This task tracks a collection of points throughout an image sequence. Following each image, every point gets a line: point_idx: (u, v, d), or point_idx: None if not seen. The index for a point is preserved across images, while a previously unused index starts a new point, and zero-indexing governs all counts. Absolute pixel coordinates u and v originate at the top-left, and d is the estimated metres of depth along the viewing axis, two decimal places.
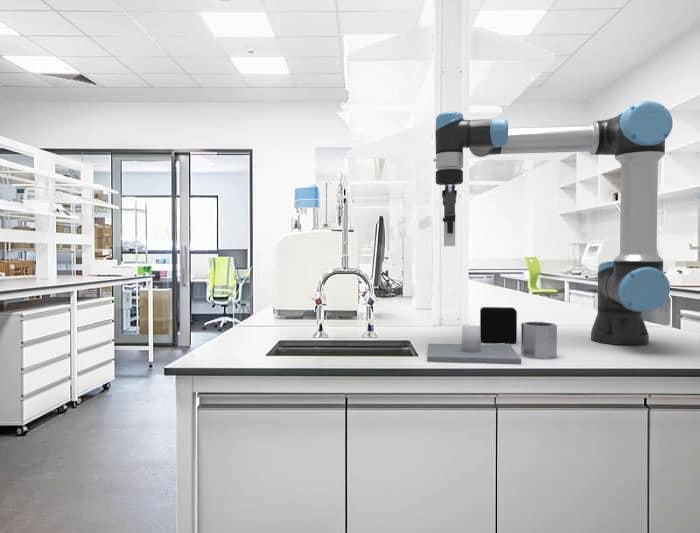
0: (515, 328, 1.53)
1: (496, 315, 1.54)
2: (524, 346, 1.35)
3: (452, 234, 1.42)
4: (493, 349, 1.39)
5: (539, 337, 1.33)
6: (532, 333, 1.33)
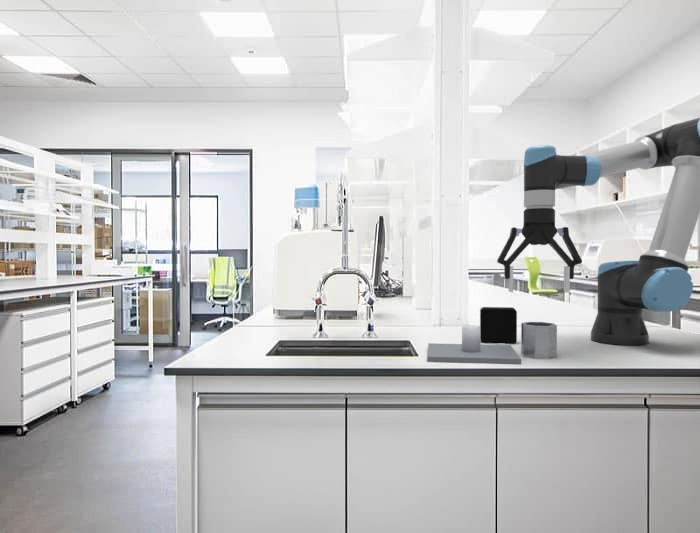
0: (515, 328, 1.53)
1: (496, 315, 1.54)
2: (524, 346, 1.35)
3: (509, 279, 1.37)
4: (493, 349, 1.39)
5: (539, 337, 1.33)
6: (532, 333, 1.33)
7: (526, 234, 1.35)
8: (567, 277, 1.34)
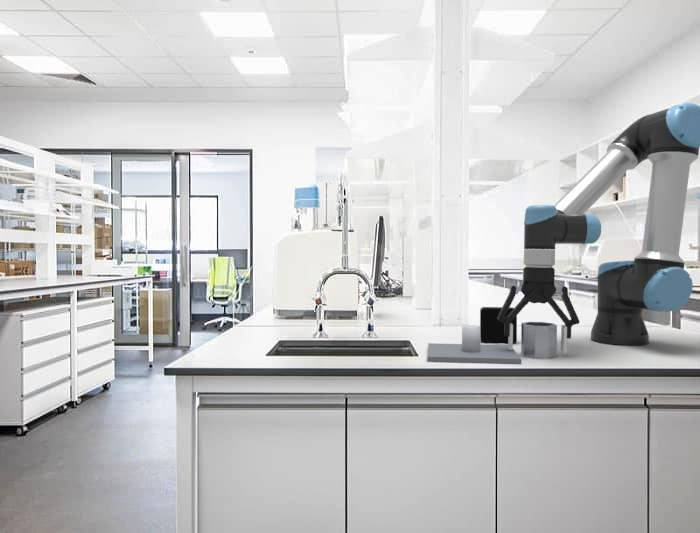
0: (515, 328, 1.53)
1: (496, 315, 1.54)
2: (524, 346, 1.35)
3: (509, 337, 1.37)
4: (493, 349, 1.39)
5: (539, 337, 1.33)
6: (532, 333, 1.33)
7: (525, 292, 1.36)
8: (564, 337, 1.34)
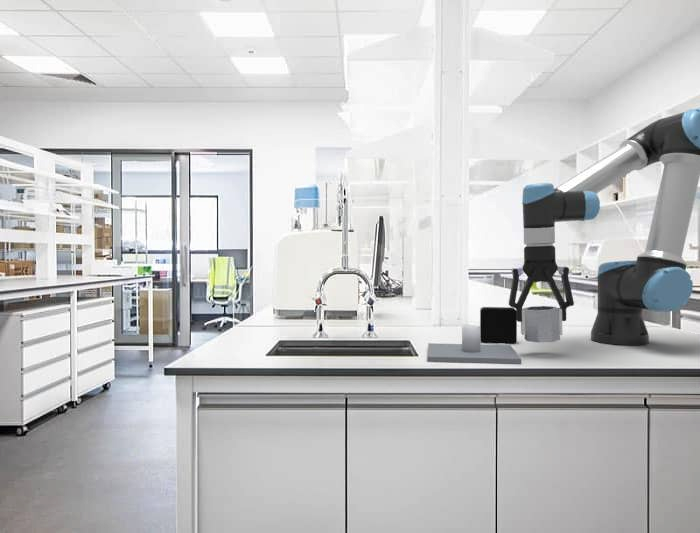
0: (515, 328, 1.53)
1: (496, 315, 1.54)
2: (527, 331, 1.36)
3: (521, 322, 1.37)
4: (493, 349, 1.39)
5: (541, 321, 1.33)
6: (534, 318, 1.33)
7: (528, 272, 1.35)
8: (560, 319, 1.35)
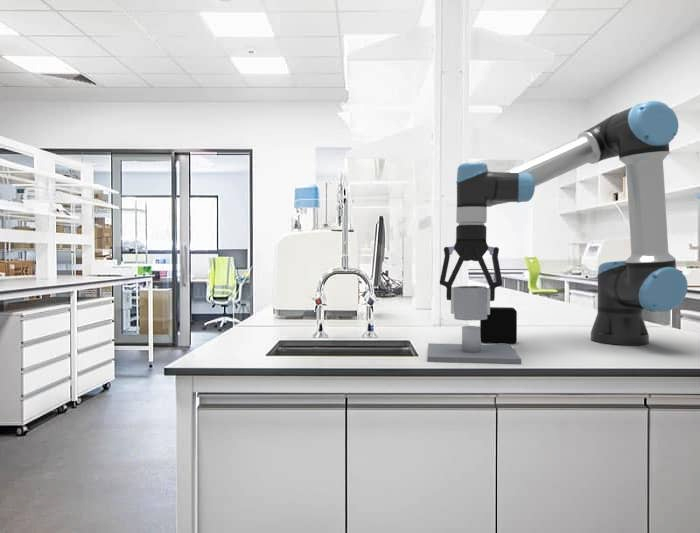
0: (515, 328, 1.53)
1: (496, 315, 1.54)
2: (455, 309, 1.36)
3: (451, 301, 1.37)
4: (493, 349, 1.39)
5: (468, 299, 1.33)
6: (462, 295, 1.34)
7: (459, 250, 1.36)
8: (488, 299, 1.35)
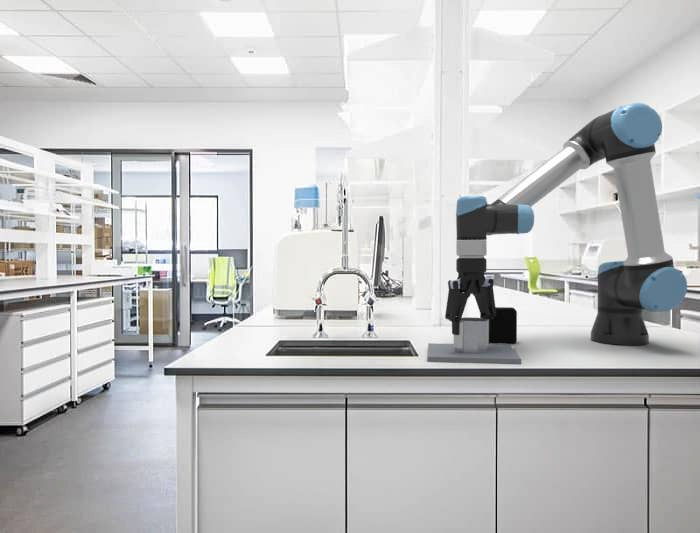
0: (515, 328, 1.53)
1: (496, 315, 1.54)
2: (465, 343, 1.34)
3: (459, 335, 1.34)
4: (493, 349, 1.39)
5: (480, 332, 1.34)
6: (475, 329, 1.33)
7: (465, 283, 1.34)
8: (487, 330, 1.38)
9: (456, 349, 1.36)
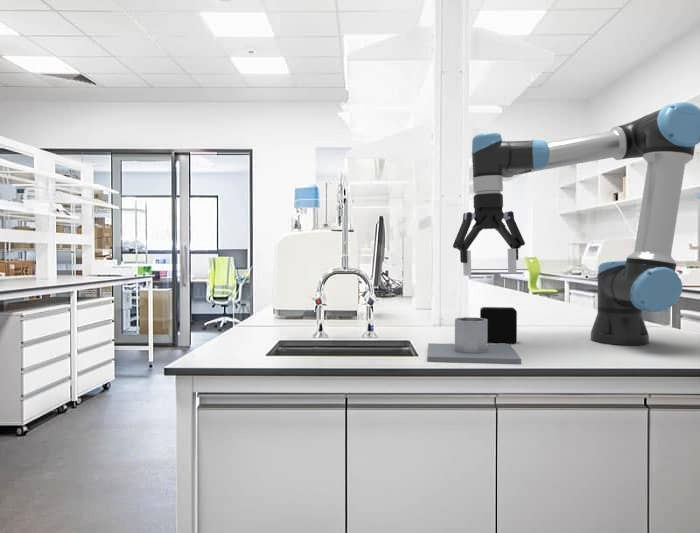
0: (515, 328, 1.53)
1: (496, 315, 1.54)
2: (465, 343, 1.34)
3: (467, 263, 1.39)
4: (493, 349, 1.39)
5: (480, 332, 1.34)
6: (475, 329, 1.33)
7: (480, 218, 1.39)
8: (514, 258, 1.42)
9: (456, 349, 1.36)
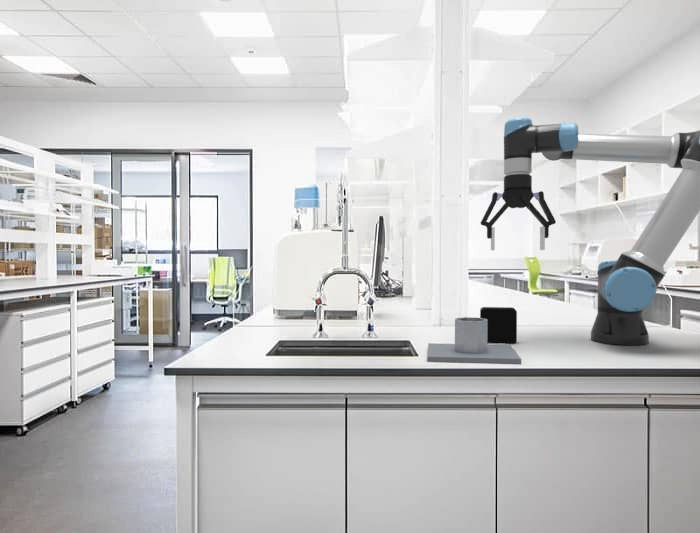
0: (515, 328, 1.53)
1: (496, 315, 1.54)
2: (465, 343, 1.34)
3: (491, 239, 1.52)
4: (493, 349, 1.39)
5: (480, 332, 1.34)
6: (475, 329, 1.33)
7: (506, 198, 1.51)
8: (542, 236, 1.50)
9: (456, 349, 1.36)
